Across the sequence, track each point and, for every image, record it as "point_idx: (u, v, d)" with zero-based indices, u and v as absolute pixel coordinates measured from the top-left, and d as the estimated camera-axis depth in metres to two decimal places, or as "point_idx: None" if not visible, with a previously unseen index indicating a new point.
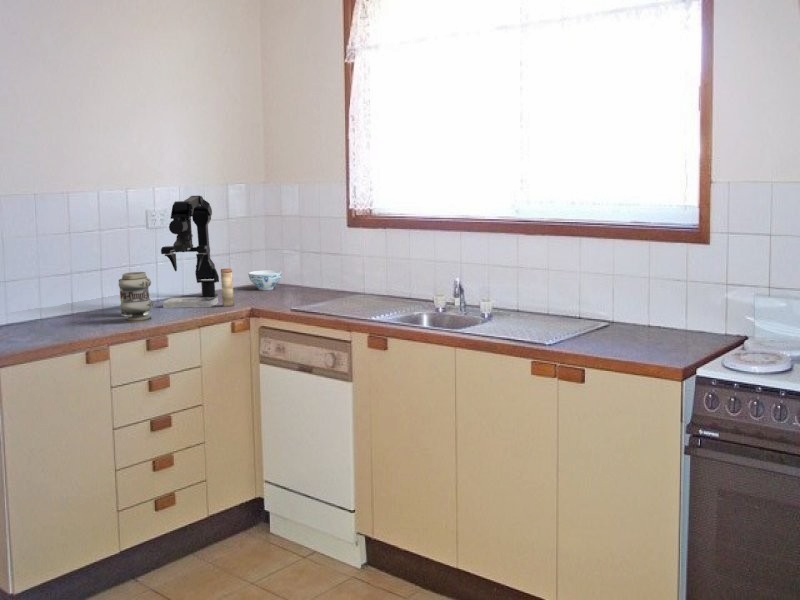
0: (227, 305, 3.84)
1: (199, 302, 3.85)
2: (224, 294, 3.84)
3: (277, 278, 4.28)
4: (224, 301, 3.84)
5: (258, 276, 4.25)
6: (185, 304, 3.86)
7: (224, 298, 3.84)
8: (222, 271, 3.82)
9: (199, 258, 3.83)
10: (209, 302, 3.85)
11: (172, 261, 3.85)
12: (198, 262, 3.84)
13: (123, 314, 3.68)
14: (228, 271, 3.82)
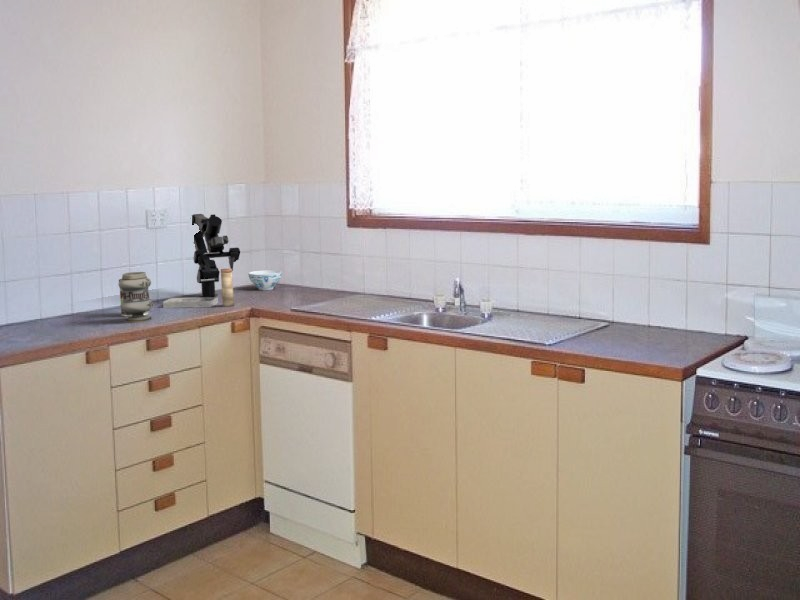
0: (227, 305, 3.84)
1: (199, 302, 3.85)
2: (224, 294, 3.84)
3: (277, 278, 4.28)
4: (224, 301, 3.84)
5: (258, 276, 4.25)
6: (185, 304, 3.86)
7: (224, 298, 3.84)
8: (222, 271, 3.82)
9: (233, 258, 3.96)
10: (209, 302, 3.85)
11: (206, 262, 3.91)
12: (232, 261, 3.95)
13: (123, 314, 3.68)
14: (228, 271, 3.82)
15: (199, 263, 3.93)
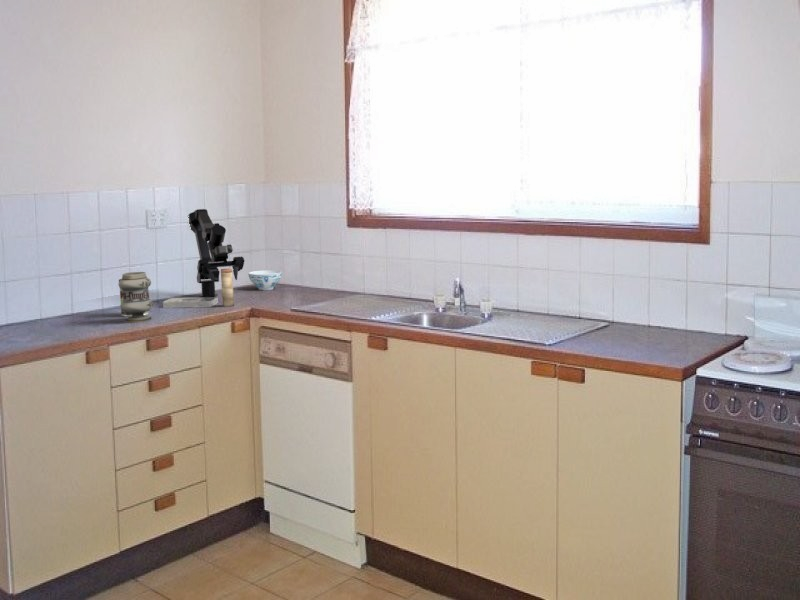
0: (227, 305, 3.84)
1: (199, 302, 3.85)
2: (224, 294, 3.84)
3: (277, 278, 4.28)
4: (224, 301, 3.84)
5: (258, 276, 4.25)
6: (185, 304, 3.86)
7: (224, 298, 3.84)
8: (222, 271, 3.82)
9: (237, 267, 3.91)
10: (209, 302, 3.85)
11: (210, 271, 3.86)
12: (236, 270, 3.90)
13: (123, 314, 3.68)
14: (228, 271, 3.82)
15: (203, 272, 3.89)
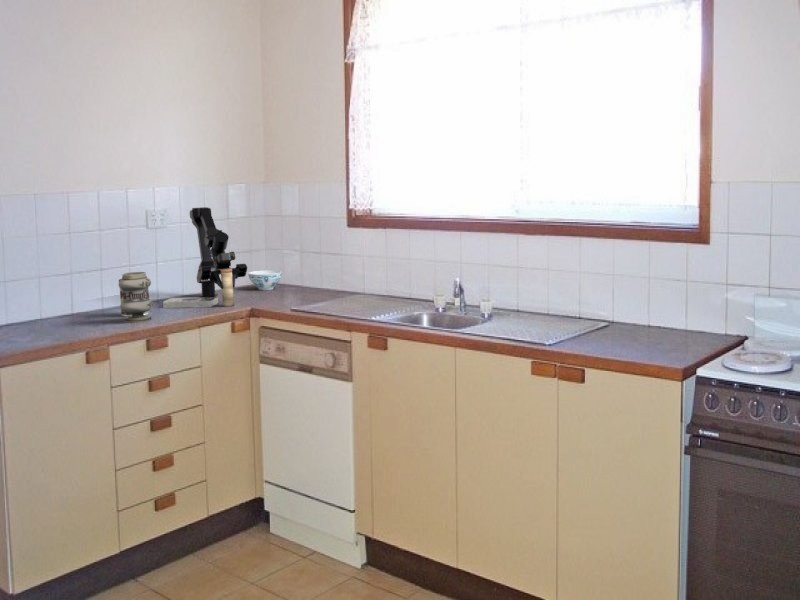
0: (227, 305, 3.84)
1: (199, 302, 3.85)
2: (224, 294, 3.84)
3: (277, 278, 4.28)
4: (224, 301, 3.84)
5: (258, 276, 4.25)
6: (185, 304, 3.86)
7: (224, 298, 3.84)
8: (222, 271, 3.82)
9: (235, 274, 3.87)
10: (209, 302, 3.85)
11: (218, 278, 3.84)
12: (234, 278, 3.86)
13: (123, 314, 3.68)
14: (228, 271, 3.82)
15: (211, 279, 3.87)
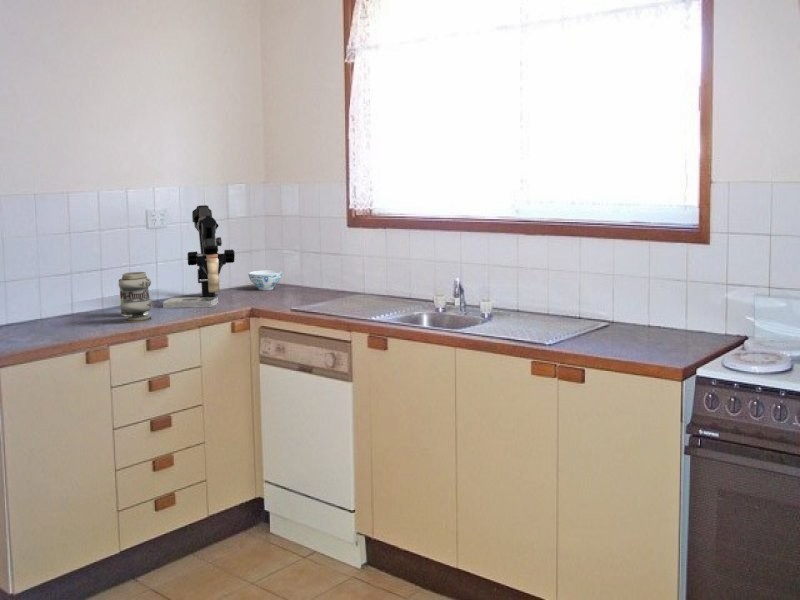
0: (212, 291, 3.84)
1: (199, 302, 3.85)
2: (209, 280, 3.84)
3: (277, 278, 4.28)
4: (209, 287, 3.84)
5: (258, 276, 4.25)
6: (185, 304, 3.86)
7: (209, 284, 3.84)
8: (207, 257, 3.82)
9: (221, 260, 3.86)
10: (209, 302, 3.85)
11: (204, 264, 3.84)
12: (220, 264, 3.85)
13: (123, 314, 3.68)
14: (213, 257, 3.82)
15: (198, 264, 3.87)
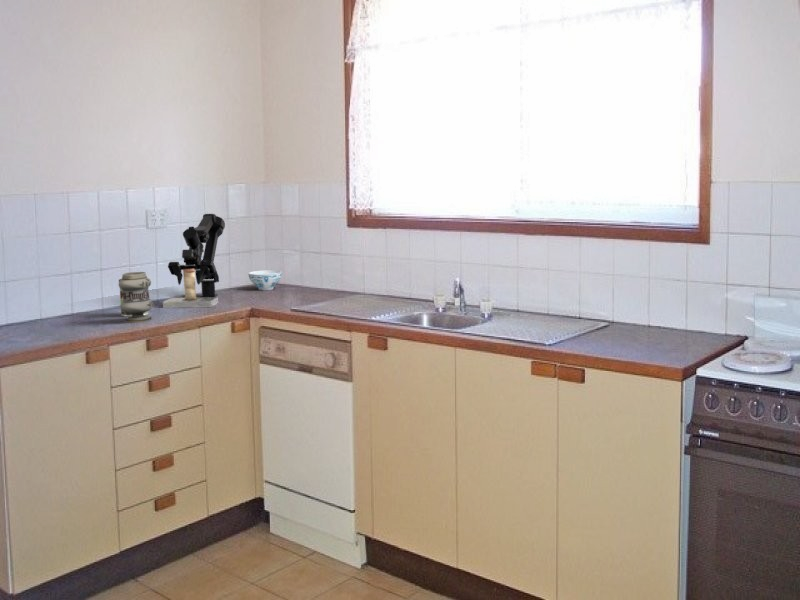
0: None
1: (199, 302, 3.85)
2: (185, 293, 3.89)
3: (277, 278, 4.28)
4: (185, 300, 3.90)
5: (258, 276, 4.25)
6: (185, 304, 3.86)
7: (185, 297, 3.89)
8: (183, 271, 3.88)
9: (202, 271, 3.89)
10: (209, 302, 3.85)
11: (178, 274, 3.90)
12: (200, 275, 3.89)
13: (123, 314, 3.68)
14: (187, 271, 3.87)
15: (176, 275, 3.94)
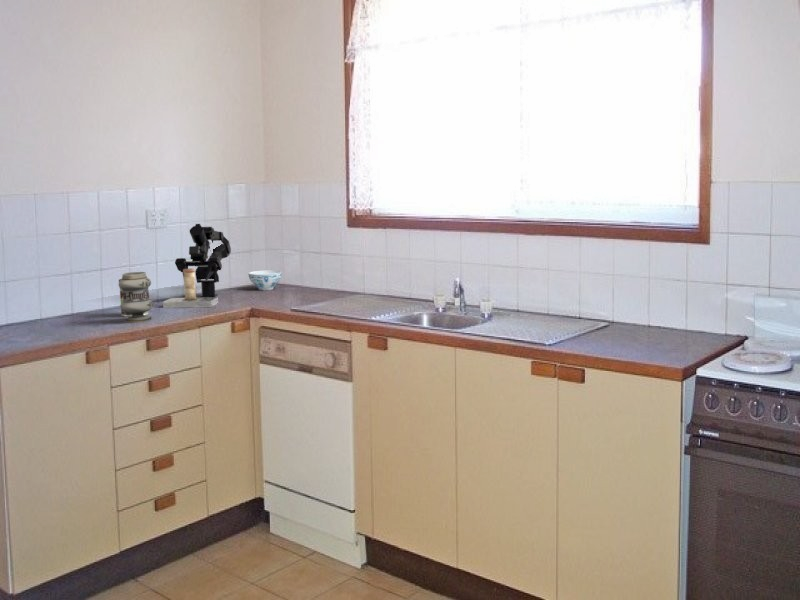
0: None
1: (199, 302, 3.85)
2: (185, 293, 3.89)
3: (277, 278, 4.28)
4: (185, 300, 3.90)
5: (258, 276, 4.25)
6: (185, 304, 3.86)
7: (185, 297, 3.89)
8: (183, 271, 3.88)
9: (210, 267, 3.98)
10: (209, 302, 3.85)
11: None
12: (208, 271, 3.98)
13: (123, 314, 3.68)
14: (187, 271, 3.87)
15: (181, 271, 4.03)
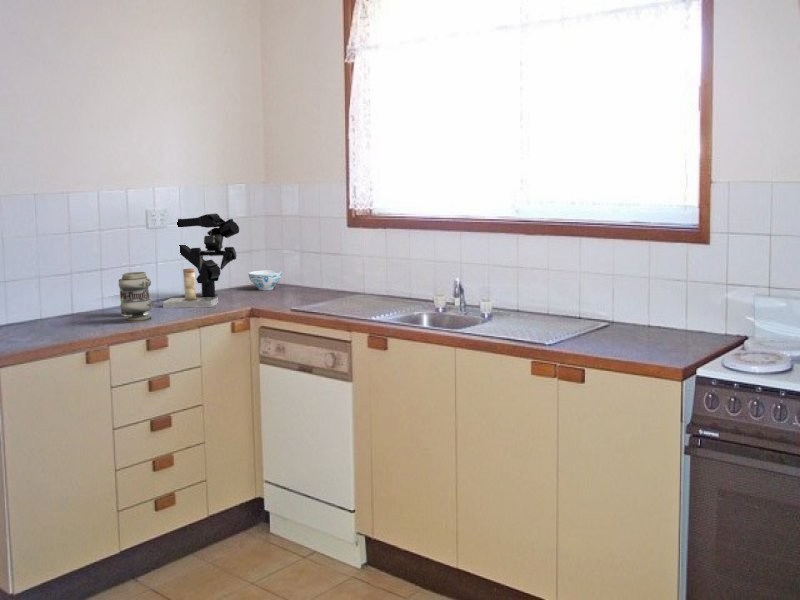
0: None
1: (199, 302, 3.85)
2: (185, 293, 3.89)
3: (277, 278, 4.28)
4: (185, 300, 3.90)
5: (258, 276, 4.25)
6: (185, 304, 3.86)
7: (185, 297, 3.89)
8: (183, 271, 3.88)
9: (225, 257, 3.99)
10: (209, 302, 3.85)
11: (198, 260, 4.00)
12: (223, 260, 3.99)
13: (123, 314, 3.68)
14: (187, 271, 3.87)
15: (196, 260, 4.04)
